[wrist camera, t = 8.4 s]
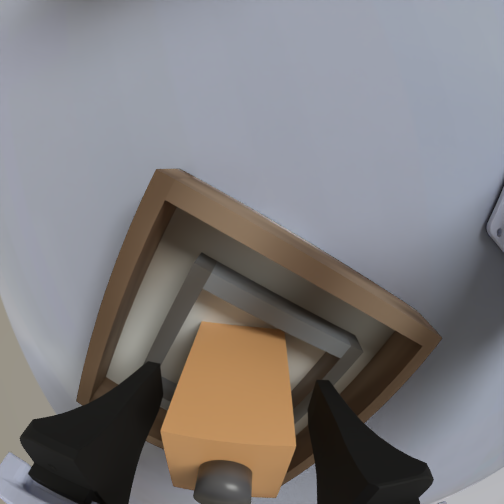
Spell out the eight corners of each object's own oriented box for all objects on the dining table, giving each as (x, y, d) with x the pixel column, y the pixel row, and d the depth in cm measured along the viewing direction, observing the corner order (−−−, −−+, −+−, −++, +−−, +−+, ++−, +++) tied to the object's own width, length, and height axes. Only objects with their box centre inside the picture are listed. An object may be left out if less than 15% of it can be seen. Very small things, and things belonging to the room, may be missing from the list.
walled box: (416, 310, 14) (442, 338, 11) (278, 454, 17) (279, 486, 15) (179, 168, 12) (156, 169, 10) (96, 372, 16) (76, 401, 13)
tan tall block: (284, 329, 14) (298, 477, 6) (273, 389, 15) (276, 521, 7) (201, 321, 14) (149, 460, 6) (201, 381, 15) (167, 509, 7)
